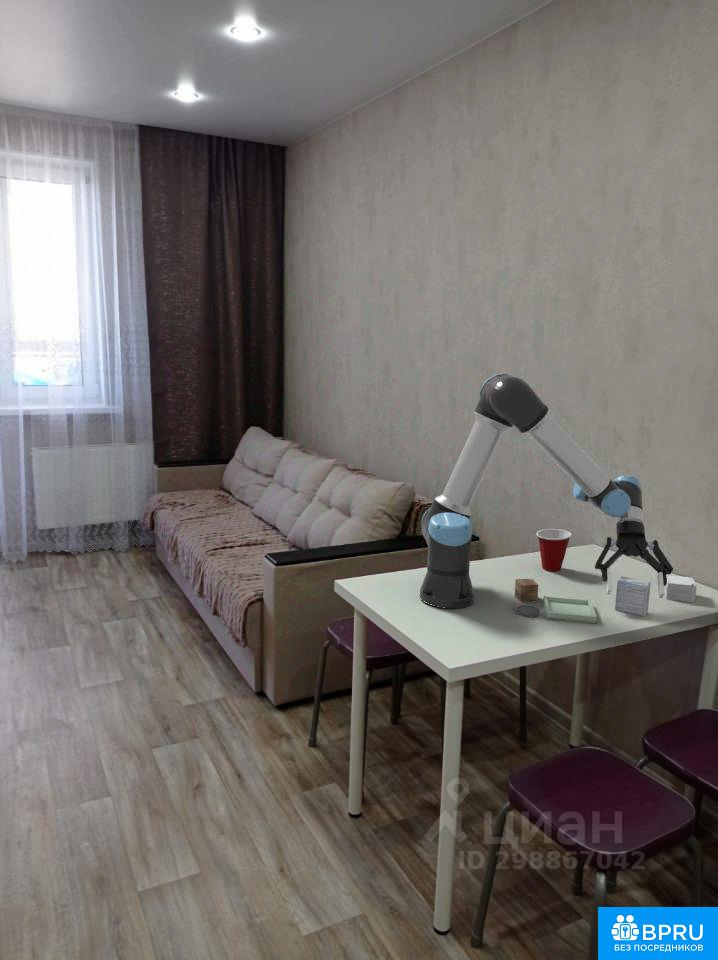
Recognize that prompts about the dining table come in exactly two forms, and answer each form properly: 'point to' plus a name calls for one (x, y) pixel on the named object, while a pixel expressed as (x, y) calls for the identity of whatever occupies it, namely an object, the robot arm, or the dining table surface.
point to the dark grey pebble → (528, 610)
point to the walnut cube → (526, 590)
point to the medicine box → (632, 596)
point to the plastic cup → (553, 548)
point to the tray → (569, 609)
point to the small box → (680, 588)
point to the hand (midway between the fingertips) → (635, 594)
